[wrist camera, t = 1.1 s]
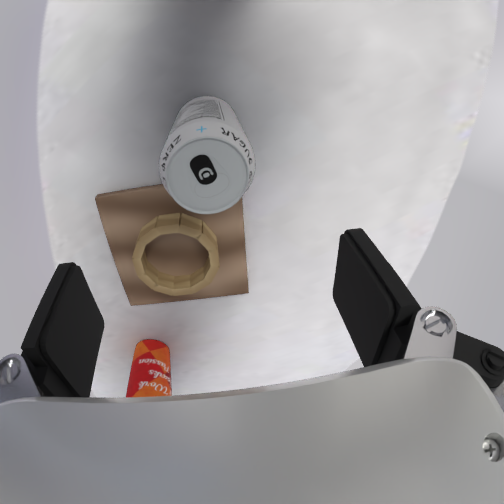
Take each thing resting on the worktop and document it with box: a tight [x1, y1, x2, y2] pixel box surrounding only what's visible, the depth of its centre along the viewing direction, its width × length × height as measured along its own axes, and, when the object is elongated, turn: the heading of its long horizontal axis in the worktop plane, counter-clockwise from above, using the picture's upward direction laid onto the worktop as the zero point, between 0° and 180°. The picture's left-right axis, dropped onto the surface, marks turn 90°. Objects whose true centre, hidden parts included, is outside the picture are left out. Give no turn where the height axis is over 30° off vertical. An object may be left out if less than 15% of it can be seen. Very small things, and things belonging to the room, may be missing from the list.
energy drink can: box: [159, 96, 255, 214], centre depth 24 cm, size 6×6×15 cm
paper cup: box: [126, 339, 172, 398], centre depth 42 cm, size 8×8×14 cm
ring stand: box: [95, 184, 249, 306], centre depth 36 cm, size 16×16×4 cm
